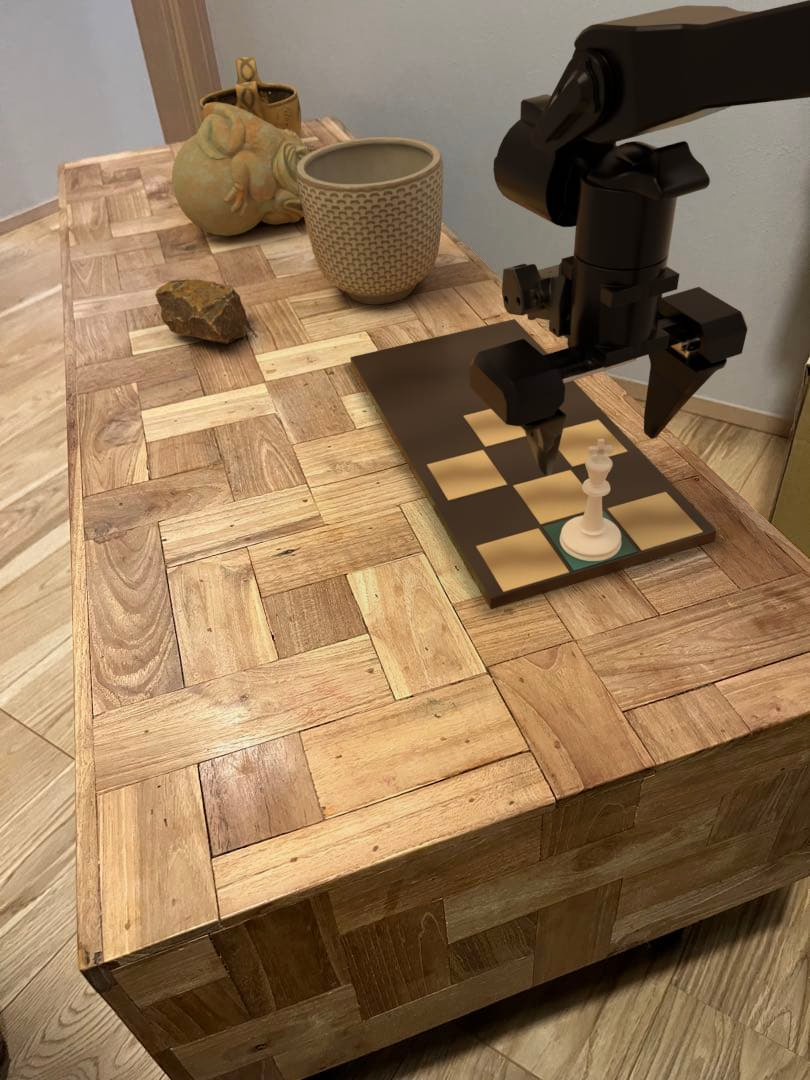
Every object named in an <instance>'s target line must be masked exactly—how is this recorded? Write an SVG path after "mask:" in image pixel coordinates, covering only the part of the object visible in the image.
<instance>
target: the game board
mask: <svg viewBox="0 0 810 1080" xmlns="http://www.w3.org/2000/svg"><path fill="white" fill-rule="evenodd" d="M521 339H525V340H526V341H527V342H528V343H529V344H531V345H532V346H533V347H534V348H535V349H536V350H538V351H539V352H540V353H541V354H542V355H546V354H549V353H548V352H547V351H546V350H545V349H544V348H543V347H542V346H541V345H540V344H539V343H538V342H537V341H536V340H535V338H534V337H533V336H532V335H531V334H530V333H529V332H528V331H527V330H526V329H525V328H524V327H523V326H522V325H521V324H520V323H519V322H518V321H517V320H516V319H515V318H513V319H508V320H504V321H500V322H495V323H491V324H487V325H483V326H478V327H474V328H469V329H466V330H462V331H457V332H452V333H447V334H443V335H440V336H435V337H431V338H427V339H422V340H418V341H414V342H409V343H405V344H401V345H396V346H392V347H388V348H384V349H379V350H375V351H371V352H366V353H362V354H357V355H354V356H350V357H349V358H350V366H351V368H352V370H353V372H354V373H355V375H356V377H357V379H358V380H359V382H360V384H361V385H362V387H363V390H364V391H365V393H366V394H367V396H368V398H369V400H370V402H371V403H372V405H373V407H374V408H375V410H376V412H377V414H378V415H379V417H380V419H381V420H382V422H383V424H384V425H385V428H386V430H387V431H388V432H389V435H390V436H391V438H392V440H393V441H394V443H395V445H396V447H397V448H398V450H399V452H400V453H401V456H402V457H403V459H404V460H405V462H406V464H407V466H408V467H409V470H410V471H411V473H412V474H413V476H414V478H415V480H416V482H417V483H418V485H419V487H420V489H421V490H422V492H423V494H424V496H425V498H426V499H427V501H428V503H429V504H430V506H431V508H432V509H433V511H434V513H435V514H436V516H437V518H438V520H439V522H440V523H441V525H442V527H443V529H444V530H445V532H446V534H447V536H448V538H449V539H450V541H451V543H452V545H453V546H454V548H455V549H456V551H457V553H458V556H459V557H460V558H461V560H462V562H463V564H464V565H465V567H466V569H467V571H468V573H469V574H470V576H471V578H472V579H473V581H474V583H475V585H476V586H477V588H478V590H479V592H480V593H481V595H482V597H483V598H484V600H485V602H486V604H487V605H488V607H489V609H493V608H497V607H500V606H503V605H507V604H510V603H513V602H517V601H520V600H524V599H526V598H530V597H532V596H533V597H534V596H537V595H540V594H543V593H547V592H550V591H553V590H557V589H560V588H564V587H566V586H569V585H572V584H576V583H580V582H583V581H587V580H589V579H593V578H596V577H599V576H602V575H603V576H604V575H606V574H609V573H612V572H616V571H619V570H622V569H626V568H628V567H633V566H636V565H639V564H642V563H645V562H648V561H652V560H655V559H658V558H662V557H665V556H669V555H672V554H675V553H678V552H682V551H686V550H689V549H691V548H695V547H699V546H702V545H705V544H708V543H712V542H715V539H716V536H717V532H718V531H717V529H716V528H715V526H713V524H711V523H710V521H709V520H707V519H706V517H704V515H703V514H701V512H700V511H699V510H698V509H697V508H696V507H695V506H694V505H693V504H692V503H691V502H690V501H689V500H688V498H687V497H686V496H685V495H684V494H683V493H682V492H681V491H680V490H679V489H678V488H677V487H676V486H675V485H674V484H673V483H672V482H671V481H670V480H669V479H668V477H667V476H665V474H663V472H662V471H661V470H660V469H659V468H658V467H657V466H656V465H655V464H654V463H653V462H652V461H651V460H650V459H649V458H648V457H647V455H645V454H644V452H643V451H641V450H640V448H639V447H638V446H637V445H635V443H634V442H633V440H631V439H630V438H629V437H628V436H627V434H625V433H624V432H623V431H622V430H621V429H620V428H619V427H618V425H617V424H616V423H615V422H614V421H613V420H612V419H611V418H610V416H608V415H607V414H606V412H604V411H603V410H602V409H601V407H599V406H598V404H596V402H595V401H594V400H593V399H592V398H591V397H590V396H589V395H588V393H586V392H585V391H584V390H583V389H582V387H581V386H579V384H578V383H577V382H576V381H575V380H573V381H570V382H567V383H564V385H565V399H564V403H563V404H562V405H561V406H560V407H559V409H560V410H562V411H563V412H564V413H565V414H566V420H565V424H564V428H563V433H562V437H561V441H560V445H559V450H558V454H557V458H556V463H555V465H554V468H553V470H552V473H551V474H550V475H547V476H546V475H545V474H544V473H543V472H542V471H541V470H540V469H539V467H538V464H537V462H536V459H535V457H534V454H533V452H532V449H531V446H530V444H529V441H528V439H527V436H526V434H525V431H524V429H523V428H521V427H520V426H512V425H506V424H505V423H504V422H503V421H502V420H501V419H500V418H499V417H498V416H497V415H496V414H495V413H494V411H493V410H492V409H491V408H490V407H489V406H488V405H487V404H486V403H485V402H484V401H483V400H482V399H481V398H480V397H479V396H478V395H477V394H476V393H475V392H474V391H473V390H472V389H471V388H470V364H471V362H472V359H473V357H474V356H475V355H476V354H477V353H478V352H480V351H483V350H487V349H490V348H493V347H497V346H500V345H504V344H507V343H510V342H514V341H517V340H521ZM598 439H604V441H605V445H604V446H607V445H612V448H613V450H612V454H603V455H605V456H607V457H609V458H610V459H611V460H612V463H613V465H612V468H611V470H610V472H609V473H608V475H607V477H606V479H605V480H606V481H607V482H608V483H609V485H610V492H609V493H608V494H607V495H605V496H602V516H603V518H606V519H608V520H610V521H611V522H613V523H614V524H615V525H616V526H617V527H618V529H619V530H620V533H621V542H622V543H621V548H620V550H619V551H618V552H617V553H616V554H615V555H614V556H612V557H611V558H608V559H606V560H602V561H585V560H580V559H577V558H575V557H573V556H571V555H570V554H568V553H567V552H566V551H565V550H564V549H563V548H562V546H561V544H560V534H561V531H562V528H563V526H564V525H565V524H566V523H567V522H568V521H569V520H571V519H573V518H575V517H578V516H583V515H584V512H585V508H586V504H587V501H588V496H589V495H587V494H586V493H585V492H584V491H583V490H582V485H583V483H584V481H585V480H587V479H589V476H588V471H587V469H586V466H585V461H586V459H587V458H588V457H589V456H591V455H595V454H589V452H588V448H589V446H597V443H598Z"/></svg>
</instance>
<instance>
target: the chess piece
mask: <svg viewBox="0 0 810 1080" xmlns="http://www.w3.org/2000/svg"><path fill="white" fill-rule="evenodd" d="M604 445H605V441H604V439H598V443H597V446H589V448H588V452H589V454H595V455H591V456H589V457H588V458H587V459H586V461H585V466H586V469H587V471H588V476H589V479H587V480H585V481H584V483H583V485H582V490H583V491H584V492H585V493H586V494H587V495H589V496H588V501H587V504H586V508H585V512H584V515H583V516H578V517H575V518H573V519H571V520H569V521H568V522H567V523H566V524H565V525H564V526H563V528H562V531H561V534H560V544H561V546H562V548H563V549H564V550H565V551H566V552H567V553H568V554H570V555H571V556H573V557H575V558H577V559H580V560H585V561H602V560H606V559H608V558H611V557H612V556H614V555H615V554H616V553H617V552H618V551H619V550H620V548H621V543H622V542H621V533H620V530H619V529H618V527H617V526H616V525H615V524H614V523H613V522H611V521H610V520H608V519H606V518H603V516H602V496H605V495H607V494H608V493H609V492H610V485H609V483H608V482H607V481H606V480H605V479H606V477H607V475H608V473H609V472H610V470H611V468H612V465H613V463H612V460H611V459H610V458H609V457H607V456H605V455H603V454H612V450H613V448H612V445H607V446H604Z"/></svg>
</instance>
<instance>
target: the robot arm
mask: <svg viewBox="0 0 810 1080" xmlns="http://www.w3.org/2000/svg"><path fill="white" fill-rule="evenodd" d="M573 47H574V51H573V53H572V57H571V59H570V60H569V62H568V63H567V65H566V66H565V69H564V70H563V73H562V74H561V76H560V78H559V80H558V82H557V84H556V86H555V88H554V89H553V91H552V93H551V95H550V94H548V93H545V94H541V95H537V96H532V97H528V98H524V99H522V100H521V101H520V117H519V118H520V119H519V120H517V121H516V122H515V123H514V124H513V125H512V126H511V127H510V128H509V129H508V131H507V132H506V133H505V135H503V138H502V140H501V143H500V144H499V146H498V150H497V153H496V156H495V157H494V159H493V170H492V171H493V178H494V182H495V184H496V187H497V189H498V191H499V192H500V193H501V195H502V196H503V197H505V198H506V199H508V200H509V201H511V202H512V203H514V204H516V205H518V206H520V207H522V208H524V209H526V210H528V211H529V212H531V213H533V214H535V215H537V216H539V217H541V218H542V219H545V220H546V221H547V222H550V223H551V224H554V225H556V226H558V227H561V228H573V227H575V233H574V244H573V245H574V247H573V255H571V256H566V257H562V258H561V262H560V263H559V264H556V265H551V266H548V267H544V268H541V269H539V268H538V266H537V265H536V263H530V264H527V263H521V264H517V265H513V266H508V267H506V268H503V271H502V284H501V295H502V301H503V307H504V309H505V310H506V313H508V314H509V315H515V316H526V315H527V316H526V317H527V320H529V321H534V320H536V319H539V320H546V321H548V331H549V332H550V333H552V335H554V336H555V337H557V338H561V337H565V338H566V339H567V347H566V348H563V349H560V350H556V351H553V352H550V353H548V354H546V355H542V354H541V353H540V352H539V351H538V350H536V349H535V348H534V347H533V346H532V345H531V344H529V343H528V342H527V341H526V340H525V339H521V340H517V341H514V342H510V343H507V344H504V345H500V346H497V347H493V348H490V349H487V350H483V351H480V352H478V353H477V354H476V355H475V356H474V357H473V359H472V362H471V364H470V388H471V389H472V390H473V391H474V392H475V393H476V394H477V395H478V396H479V397H480V398H481V399H482V400H483V401H484V402H485V403H486V404H487V405H488V406H489V407H490V408H491V409H492V410H493V411H494V413H495V414H496V415H497V416H498V417H499V418H500V419H501V420H502V421H503V422H504V423H505V424H506V425H512V426H520V427H521V428H523V429H524V431H525V434H526V436H527V439H528V441H529V444H530V446H531V449H532V452H533V454H534V457H535V459H536V462H537V464H538V467H539V469H540V470H541V471H542V472H543V473H544V474H545V475H546V476H547V475H550V474H551V473H552V470H553V468H554V465H555V463H556V458H557V454H558V450H559V445H560V441H561V437H562V433H563V428H564V424H565V420H566V414H565V413H564V412H563V411H562V410H560V409H559V407H560V406H561V405H562V404H563V403H564V399H565V385H564V383H567V382H570V381H576V380H580V379H582V378H586V377H588V376H592V375H594V374H599V373H602V372H605V371H608V370H611V369H614V368H617V367H620V366H624V365H627V364H630V363H633V362H636V360H637V359H639V358H641V357H645V356H648V358H649V359H648V360H649V362H650V365H649V366H650V368H649V374H648V375H649V376H648V383H647V389H646V390H647V391H646V398H645V405H644V411H643V412H644V413H643V433H644V435H645V436H647V437H648V438H649V439H651V440H653V439H657V437H658V436H659V435H660V434H661V433H662V431H664V430H665V428H666V427H667V426H668V425H669V423H670V422H671V421H672V420H673V419H674V417H675V416H676V415H677V414H678V413H679V412H680V411H681V409H682V408H683V407H684V406H685V405H686V404H687V403H688V402H689V400H690V399H691V398H692V397H693V396H694V395H695V394H696V392H697V391H699V390H700V389H701V387H703V385H704V384H705V383H706V382H707V381H708V380H709V379H710V378H711V377H712V376H713V375H714V374H715V373H716V372H718V371H719V370H721V369H723V368H725V367H726V365H727V362H728V359H729V358H733V357H735V356H739V355H742V354H743V350H744V345H745V341H746V338H747V333H748V324H747V321H746V319H745V316H744V313H742V311H740V310H739V309H738V308H736V307H734V306H732V305H731V304H729V303H727V301H724V300H723V299H720V298H719V297H717V296H716V295H714V294H712V293H710V292H709V291H707V290H706V289H704V288H702V287H700V286H696V287H693V288H690V289H686V290H683V291H680V292H676V293H673V294H670V295H666V296H663V294H666V293H670V292H673V291H676V290H678V287H679V286H678V285H679V281H680V273H678V272H677V271H675V270H674V269H672V268H670V267H668V260H669V254H670V247H671V241H672V235H673V234H672V233H673V227H674V221H675V215H676V207H677V203H678V202H677V201H678V198H679V197H682V196H686V195H689V194H692V193H696V192H699V191H702V190H705V189H707V188H708V187H709V186H710V184H711V179H710V176H709V174H708V173H707V170H706V169H705V167H704V165H703V164H702V163H701V162H700V161H699V160H697V158H696V157H695V156H694V155H693V153H692V151H691V149H690V145H689V142H688V141H686V140H682V141H678V142H674V143H671V144H667V145H663V146H660V147H657V146H654V145H652V144H649V143H646V142H644V141H640V140H638V141H637V140H636V141H635V140H633V141H628V142H624V143H621V144H618V145H617V142H621V141H624V140H628V139H633V138H636V137H639V136H644V135H647V134H651V133H654V132H658V131H662V130H665V129H670V128H674V127H677V126H681V125H684V124H687V123H691V122H695V121H696V120H698V119H699V120H700V119H702V118H705V117H707V116H710V115H713V114H716V113H718V112H722V111H724V110H726V109H728V108H731V107H735V106H745V105H746V106H747V105H755V104H762V103H763V104H764V103H771V102H780V101H781V102H782V101H791V100H799V99H806V98H807V99H808V98H810V0H803V1H799V2H794V3H791V4H787V5H782V6H776V7H774V8H769V9H764V10H760V11H749V10H748V11H746V10H737V9H735V8H732V7H729V6H723V5H721V6H719V5H678V6H674V7H669V8H665V9H660V10H655V11H651V12H645V13H641V14H636V15H632V16H626V17H621V18H617V19H612V20H609V21H608V20H607V21H604V22H603V21H602V22H599V23H595V24H590V25H588V26H587V27H584V29H582V30H581V31H580V33H579V34H578V35H577V36H576V37H575V39H574V43H573Z"/></svg>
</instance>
